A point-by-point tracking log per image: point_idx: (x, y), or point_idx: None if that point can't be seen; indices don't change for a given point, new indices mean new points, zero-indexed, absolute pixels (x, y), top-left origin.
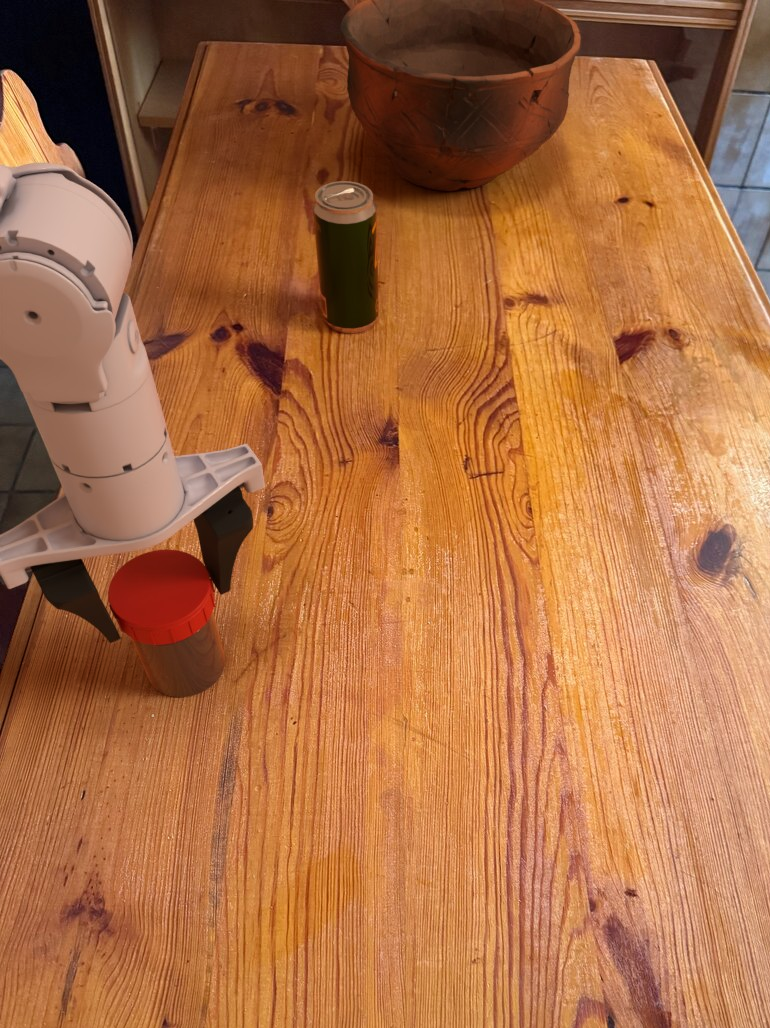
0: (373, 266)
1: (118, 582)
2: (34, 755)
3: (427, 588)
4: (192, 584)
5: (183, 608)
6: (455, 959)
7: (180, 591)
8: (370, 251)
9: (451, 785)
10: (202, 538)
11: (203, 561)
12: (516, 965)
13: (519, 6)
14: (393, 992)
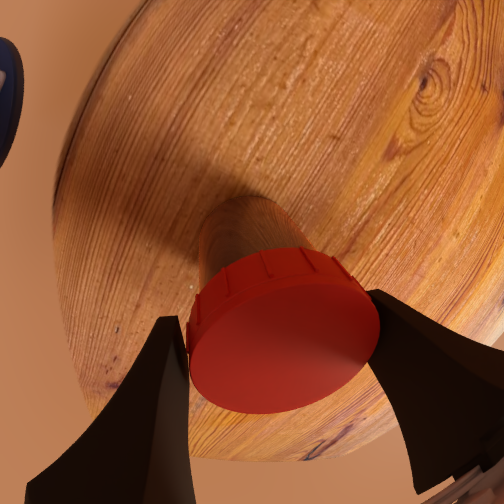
0: None
1: (220, 338)
2: (75, 279)
3: (452, 256)
4: (339, 371)
5: (301, 400)
6: (292, 432)
7: (315, 377)
8: None
9: (352, 384)
10: (419, 363)
11: (379, 302)
12: (311, 434)
13: None
14: (262, 437)
